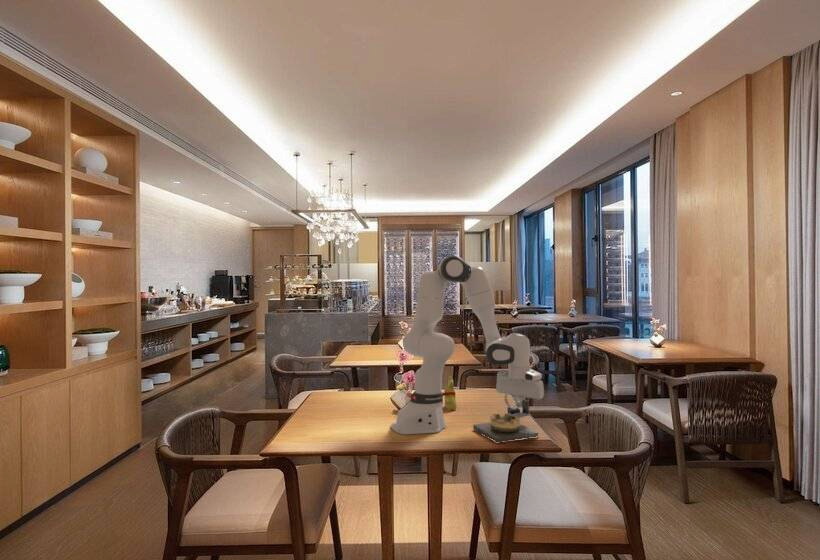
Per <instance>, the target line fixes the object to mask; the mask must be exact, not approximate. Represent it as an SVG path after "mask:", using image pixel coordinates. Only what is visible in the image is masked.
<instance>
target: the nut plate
mask: <svg viewBox="0 0 820 560" xmlns="http://www.w3.org/2000/svg"><path fill="white" fill-rule="evenodd" d="M472 427H473V428H472V429H474V430H473V431H475V430H476V431H475V432H477V431H478V432H480V433H481V434H480V433H479V434H480V435H482V434H483V435H485V436H487V437H489V438H491V439H493V440H495V441H496V442H502V441H508V440H515V439H522V438H529V437H536V436H538V437H539V432H538V431H536V430H534V429H531V428H530V427H528V426H525V425H523V424H521V423H519V430H518V431H515V432H499V431H495V430H493V429H491V421H490V422H484V423H476V424H472ZM478 432H477V433H478ZM483 435H482V436H483ZM485 436H484V437H485ZM487 437H486V438H487Z"/></svg>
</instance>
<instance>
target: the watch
mask: <svg viewBox="0 0 820 560" xmlns="http://www.w3.org/2000/svg"><path fill="white" fill-rule="evenodd" d="M508 395H509V394H505V395H504V402H505V404H506V405H507V410H506V411H507V412H508V414H516V413H520V412H521V409H520V408H521V407H518V406H511V405H510V404H509V402H508V398H507V397H508ZM517 398H518V400H519V402H520V401H521V399H520V396H518V397H517ZM507 412H506V413H507Z"/></svg>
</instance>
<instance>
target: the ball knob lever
mask: <svg viewBox="0 0 820 560" xmlns="http://www.w3.org/2000/svg"><path fill="white" fill-rule="evenodd" d="M521 408H522V409H521V410H522V411H520V413H516V414H508V413H507V412H506V413H504V415H501V414H499V413H497V412H496V413H494V414H492V416H489V417H490V422H491V429H493V430H495V431H499V432H515V431H518V430H519V424H520V418H525V417H528V416H530V401H529V400H526V399H525V400H523V401H522V407H521Z"/></svg>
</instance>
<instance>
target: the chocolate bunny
mask: <svg viewBox="0 0 820 560" xmlns="http://www.w3.org/2000/svg"><path fill="white" fill-rule="evenodd" d="M443 399H444V406H445V408H446V409H447V410H448V411H455V409H456V410H457V402H456V400H457V398H456V391H455V387H454V379H453V377H452V376H451V375H450V376H448V377H447V381H446V383H445V387H444V392H443Z"/></svg>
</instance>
